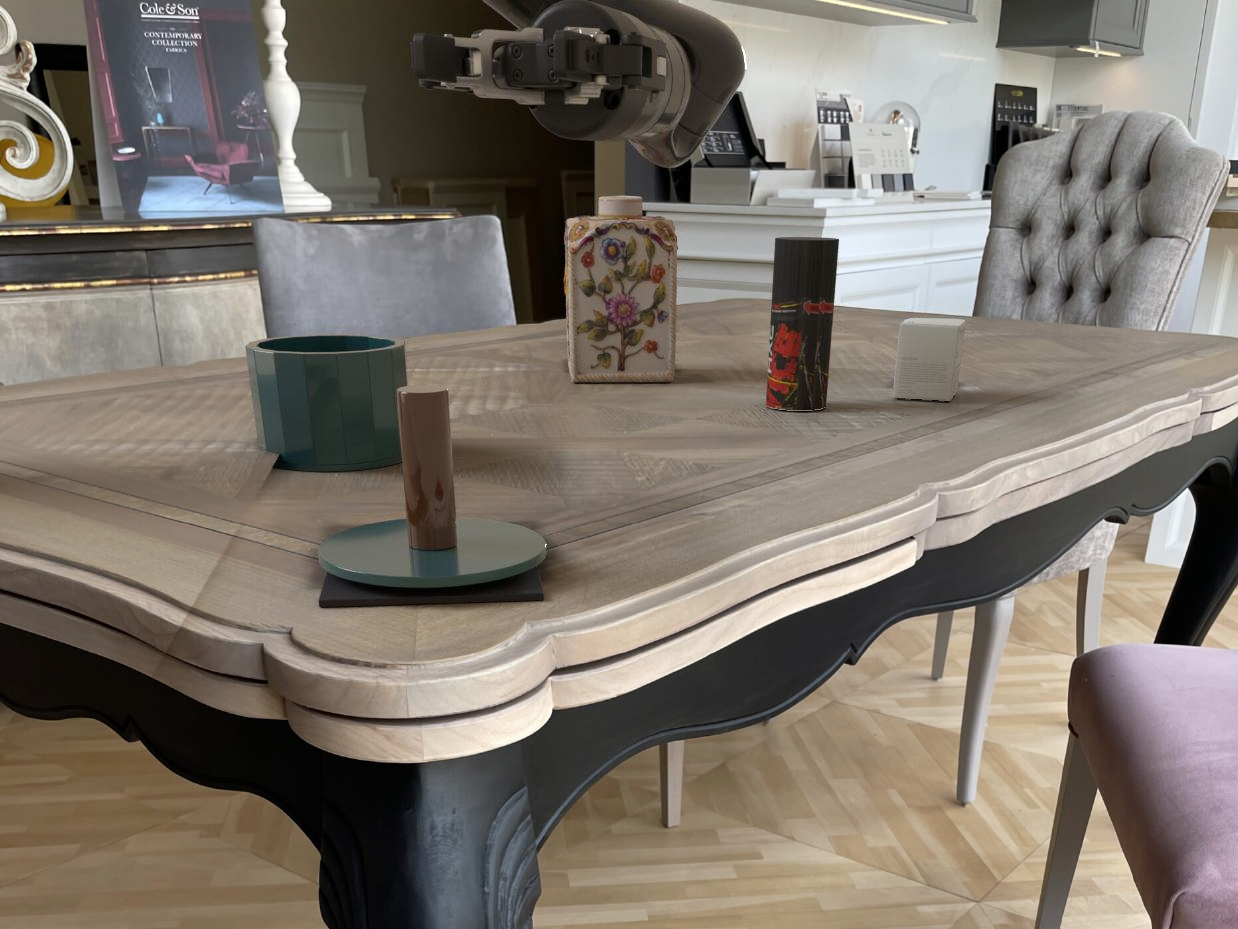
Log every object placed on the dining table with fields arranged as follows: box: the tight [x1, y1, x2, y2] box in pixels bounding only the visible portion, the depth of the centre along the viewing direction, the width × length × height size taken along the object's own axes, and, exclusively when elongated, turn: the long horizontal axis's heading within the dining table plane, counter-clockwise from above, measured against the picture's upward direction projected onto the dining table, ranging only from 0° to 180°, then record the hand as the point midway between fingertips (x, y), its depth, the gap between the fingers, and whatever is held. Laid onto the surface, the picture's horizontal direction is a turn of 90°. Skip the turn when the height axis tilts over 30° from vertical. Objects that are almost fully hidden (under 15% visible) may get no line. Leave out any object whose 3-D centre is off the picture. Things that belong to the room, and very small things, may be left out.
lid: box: [317, 384, 547, 588], centre depth 70 cm, size 13×13×10 cm
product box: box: [892, 317, 967, 402], centre depth 128 cm, size 6×6×7 cm
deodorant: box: [765, 236, 840, 410], centre depth 120 cm, size 6×6×15 cm
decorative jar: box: [563, 195, 679, 384], centre depth 136 cm, size 12×12×18 cm
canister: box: [244, 333, 409, 473], centre depth 99 cm, size 12×12×8 cm
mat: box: [318, 565, 545, 608], centre depth 72 cm, size 12×12×1 cm
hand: (488, 54), depth 68 cm, fingers open, 8 cm apart
